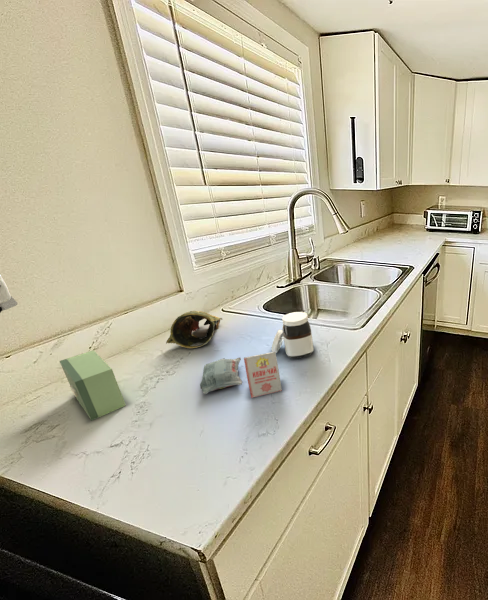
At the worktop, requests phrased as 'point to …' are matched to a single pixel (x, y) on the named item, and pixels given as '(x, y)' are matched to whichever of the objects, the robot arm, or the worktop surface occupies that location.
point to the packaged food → (220, 375)
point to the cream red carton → (262, 374)
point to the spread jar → (294, 336)
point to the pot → (192, 329)
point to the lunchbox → (93, 384)
